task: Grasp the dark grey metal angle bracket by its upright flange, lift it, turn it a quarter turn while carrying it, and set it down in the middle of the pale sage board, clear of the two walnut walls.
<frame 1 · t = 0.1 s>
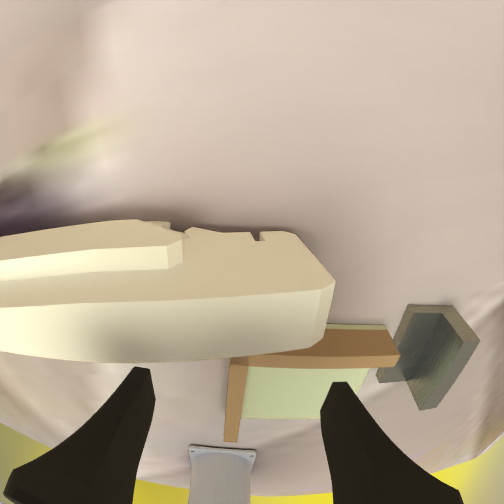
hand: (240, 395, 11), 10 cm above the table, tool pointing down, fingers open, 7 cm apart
shelf bracket: (108, 240, 20), on the table
angle bracket: (426, 340, 24), on the table
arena: (298, 376, 25), on the table
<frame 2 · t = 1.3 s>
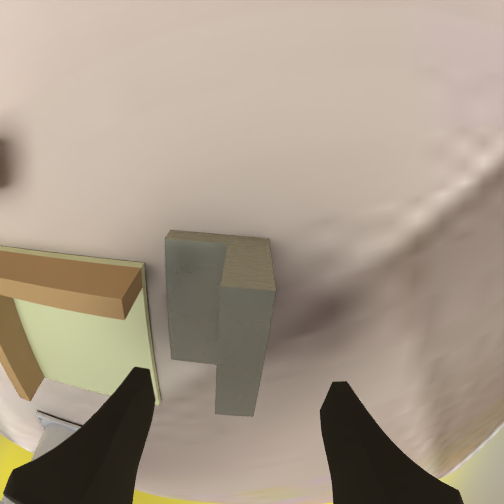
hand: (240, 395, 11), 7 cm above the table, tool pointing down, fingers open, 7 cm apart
angle bracket: (241, 301, 17), on the table
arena: (73, 330, 18), on the table
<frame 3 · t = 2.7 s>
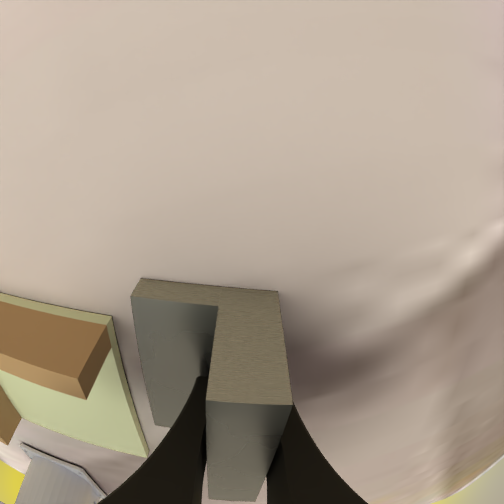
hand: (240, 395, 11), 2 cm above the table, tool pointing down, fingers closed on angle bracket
angle bracket: (240, 366, 13), on the table, touching gripper
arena: (43, 378, 14), on the table
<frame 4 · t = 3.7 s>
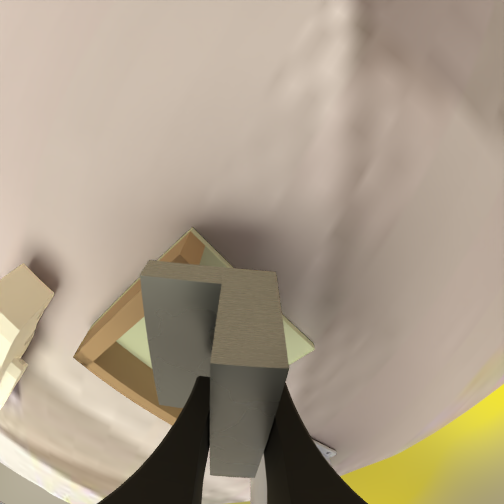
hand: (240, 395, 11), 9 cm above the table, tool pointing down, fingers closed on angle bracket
shelf bracket: (15, 340, 23), on the table
angle bracket: (241, 345, 14), point 6 cm above the table, touching gripper
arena: (196, 339, 21), on the table
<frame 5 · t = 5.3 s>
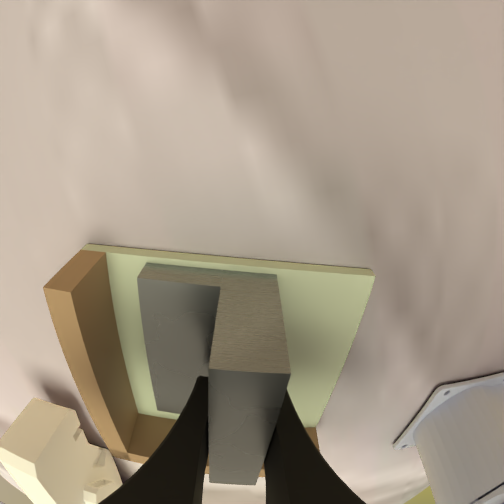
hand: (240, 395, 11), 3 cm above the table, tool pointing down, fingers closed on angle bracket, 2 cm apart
shelf bracket: (107, 462, 22), on the table
angle bracket: (241, 350, 13), point 1 cm above the table, touching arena, gripper
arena: (219, 365, 14), on the table
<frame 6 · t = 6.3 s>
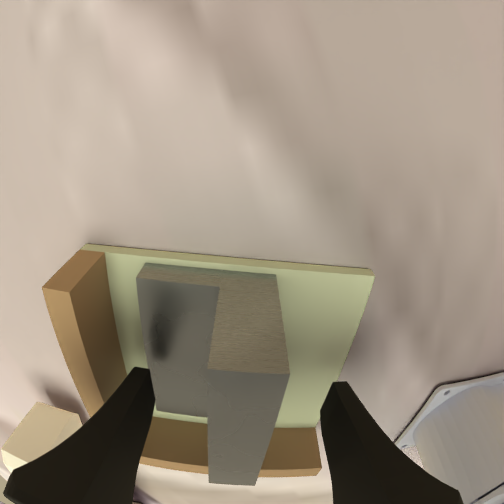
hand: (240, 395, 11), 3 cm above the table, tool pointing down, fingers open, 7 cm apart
shelf bracket: (109, 464, 22), on the table
angle bracket: (240, 350, 13), point 1 cm above the table, touching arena
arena: (219, 365, 14), on the table
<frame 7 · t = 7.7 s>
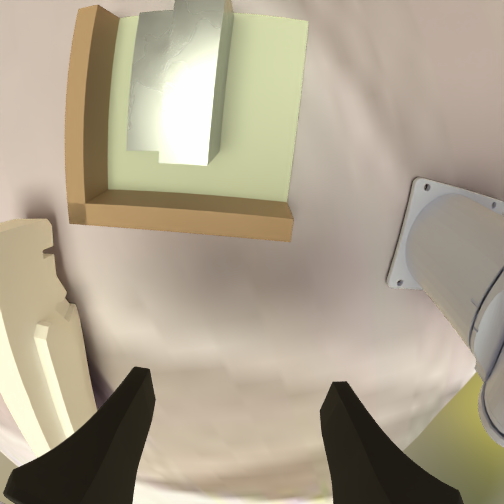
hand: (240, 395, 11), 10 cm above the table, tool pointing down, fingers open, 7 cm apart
shelf bracket: (76, 341, 24), on the table
angle bracket: (207, 80, 14), point 1 cm above the table, touching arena
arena: (189, 110, 16), on the table
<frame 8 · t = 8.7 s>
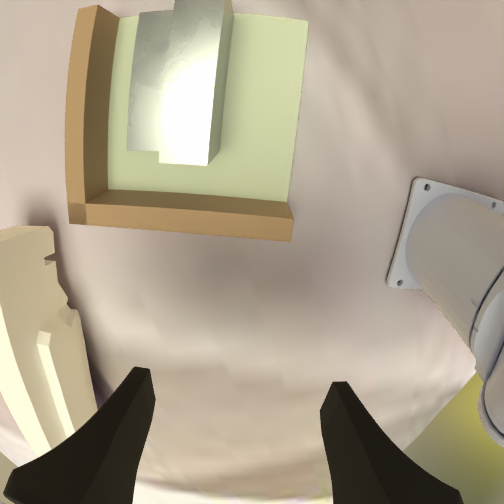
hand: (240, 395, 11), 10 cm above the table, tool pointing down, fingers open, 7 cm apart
shelf bracket: (77, 346, 24), on the table
angle bracket: (207, 80, 14), point 1 cm above the table, touching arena
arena: (189, 110, 16), on the table
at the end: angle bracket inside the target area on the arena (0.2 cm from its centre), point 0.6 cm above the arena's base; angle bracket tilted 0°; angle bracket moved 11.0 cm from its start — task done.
